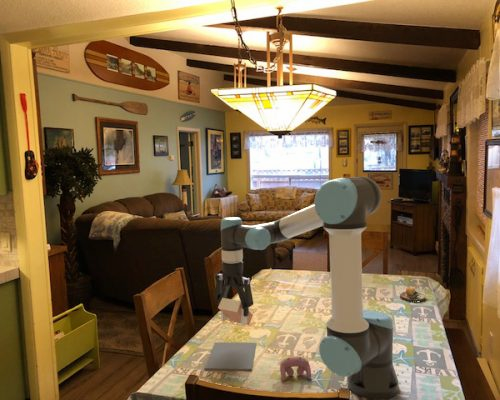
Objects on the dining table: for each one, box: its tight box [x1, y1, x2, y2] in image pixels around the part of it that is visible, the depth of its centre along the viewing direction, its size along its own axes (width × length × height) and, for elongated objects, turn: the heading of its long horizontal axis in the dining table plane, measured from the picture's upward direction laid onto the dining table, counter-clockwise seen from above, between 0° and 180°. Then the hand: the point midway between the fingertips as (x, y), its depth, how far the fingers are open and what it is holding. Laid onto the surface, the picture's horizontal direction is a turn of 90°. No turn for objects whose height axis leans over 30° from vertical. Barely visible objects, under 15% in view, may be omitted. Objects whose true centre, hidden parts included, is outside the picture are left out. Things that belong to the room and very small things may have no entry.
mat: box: [204, 341, 257, 372], centre depth 151 cm, size 20×16×1 cm
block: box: [217, 297, 254, 326], centre depth 152 cm, size 4×8×11 cm
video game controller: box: [279, 356, 312, 382], centre depth 136 cm, size 10×5×7 cm, turn 93°
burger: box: [399, 285, 427, 303], centre depth 206 cm, size 12×12×8 cm
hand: (234, 322), depth 152 cm, fingers closed on block, 8 cm apart
